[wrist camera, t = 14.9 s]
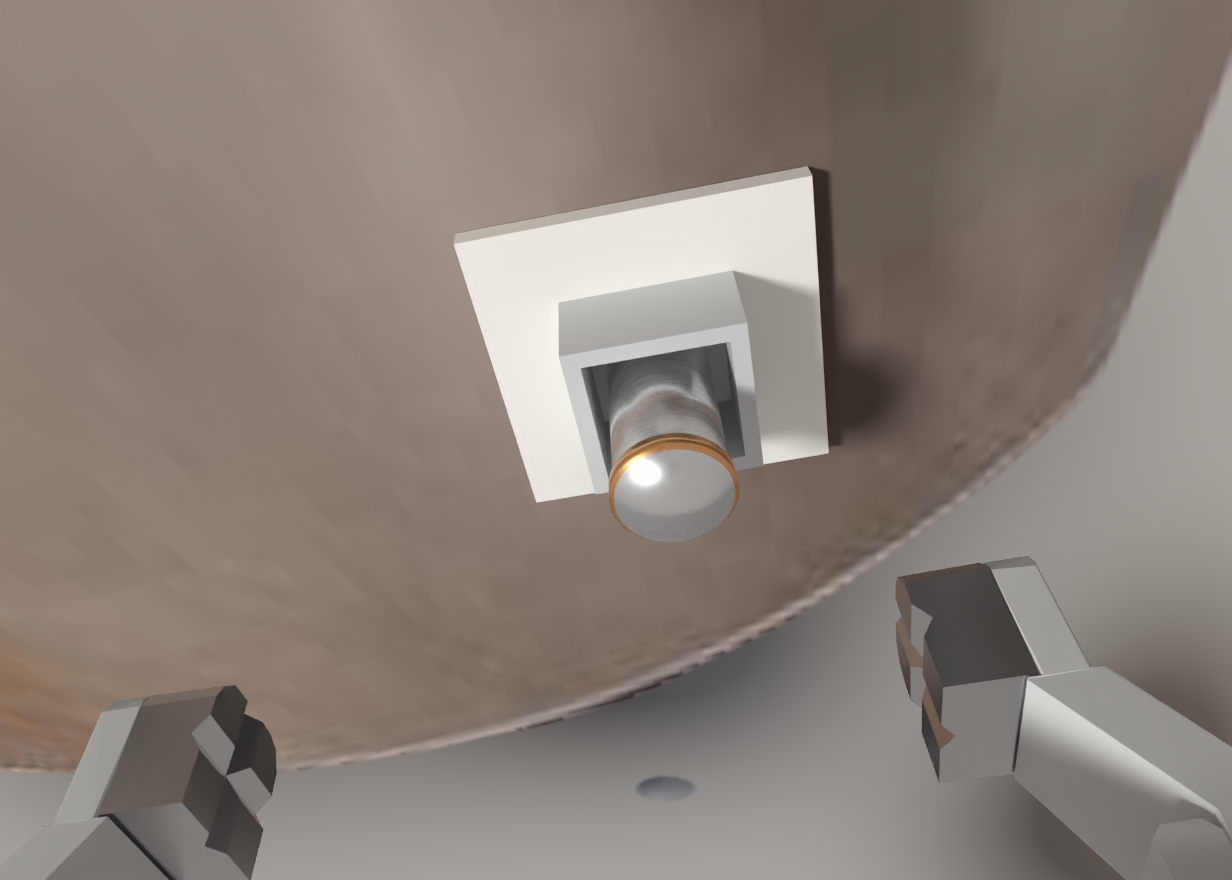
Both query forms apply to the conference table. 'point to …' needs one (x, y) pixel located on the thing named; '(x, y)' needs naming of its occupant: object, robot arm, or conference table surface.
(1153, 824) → the robot arm
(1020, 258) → the conference table surface
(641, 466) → the copper rimmed tube
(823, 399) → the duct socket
